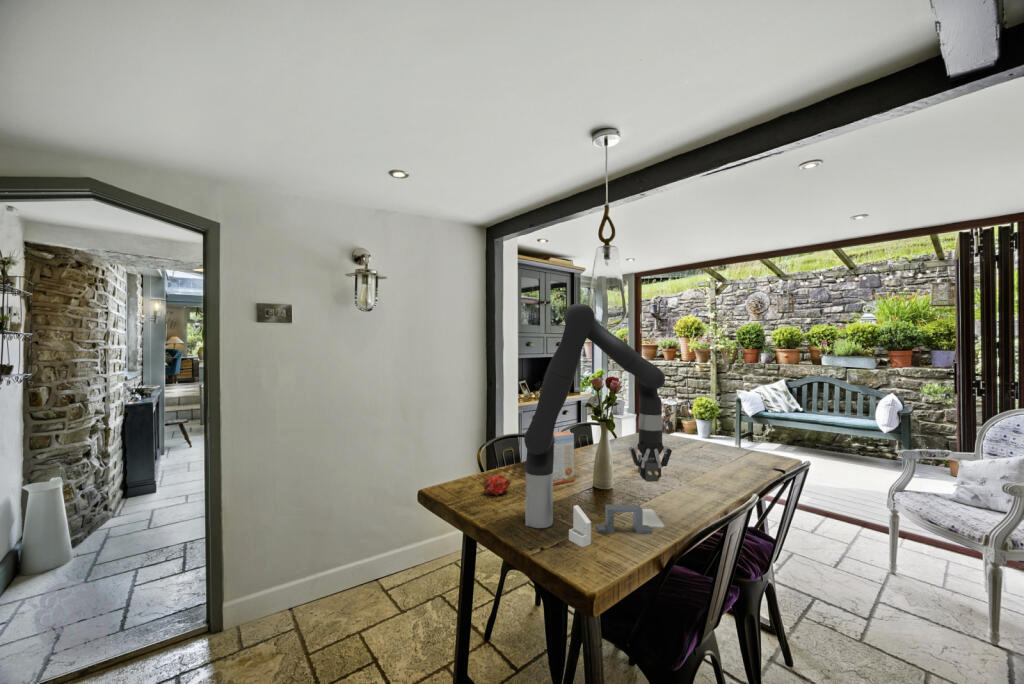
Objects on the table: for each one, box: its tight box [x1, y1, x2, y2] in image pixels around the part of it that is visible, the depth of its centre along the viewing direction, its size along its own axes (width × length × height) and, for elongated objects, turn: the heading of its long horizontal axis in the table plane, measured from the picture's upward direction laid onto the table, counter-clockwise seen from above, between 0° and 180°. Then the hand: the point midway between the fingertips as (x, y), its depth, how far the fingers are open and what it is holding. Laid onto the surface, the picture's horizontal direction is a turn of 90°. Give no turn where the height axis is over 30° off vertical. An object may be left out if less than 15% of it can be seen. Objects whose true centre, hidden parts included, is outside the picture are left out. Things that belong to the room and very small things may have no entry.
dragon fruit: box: [482, 473, 511, 496], centre depth 169 cm, size 8×8×12 cm
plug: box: [637, 454, 659, 483], centre depth 144 cm, size 4×13×6 cm, turn 178°
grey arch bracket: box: [595, 504, 653, 535], centre depth 137 cm, size 17×4×8 cm, turn 88°
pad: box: [630, 508, 666, 529], centre depth 146 cm, size 8×14×1 cm, turn 178°
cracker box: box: [553, 430, 575, 486], centre depth 182 cm, size 14×6×21 cm, turn 115°
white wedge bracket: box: [568, 504, 592, 548], centre depth 130 cm, size 4×10×9 cm
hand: (650, 478), depth 142 cm, fingers closed on plug, 4 cm apart
